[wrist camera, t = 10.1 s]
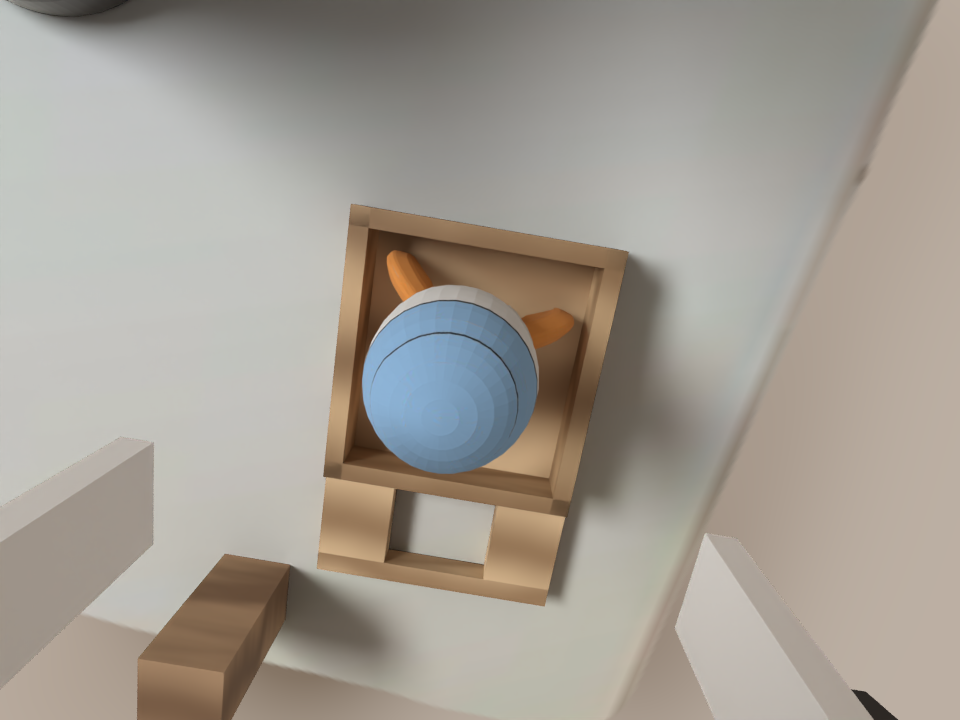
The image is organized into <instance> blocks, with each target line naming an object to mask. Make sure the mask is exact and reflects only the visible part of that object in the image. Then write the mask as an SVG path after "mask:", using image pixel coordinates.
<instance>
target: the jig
mask: <svg viewBox="0 0 960 720" xmlns="http://www.w3.org/2000/svg"><path fill="white" fill-rule="evenodd" d="M394 250H397V251H403V252H406V253H410V254H411V255H413V256H414V257H415V258H416V260H417V261H418V263H419V264H420V265H421V267H422V268H423V270H424V271H425V273H426V274H427V275H428V277H429V278H430V280H431V281H432V284H433V286H434V287H437V286H444V285H462V286H468V287H473V288H477V289H480V290H483V291H485V292H488V293H490V294H492V295H494V296H495V297H497V298H498V299H500V300H501V301H503V302H504V303H505V304H507V305H510V306H511V307H512V308H513V309H514V310H515V311H516V312H517V313H518V315H519V316H520V318H523V317H525V316H526V315H530V314H535V313H540V312H544V311H549V310H553V309H554V308H559V309H561V310H564V311H566V312H567V313H569V314H571V315H572V316H573V319H574V326H573V327H572V329H571V330H570V331H569V332H568V333H566V334H565V335H564V336H563V337H561V338H560V339H559V340H557V341H555V342H553V343H551V344H549V345H546V346H543V347H541V348H537V349H535V351H536V356H537V361H538V366H539V390H538V395H537V399H536V404H535V408H534V412H533V414H532V416H531V418H530V420H529V423H528V425H527V427H526V428H525V430H524V431H523V432H522V434H521V435H520V437H519V438H518V439H517V441H516V442H515V444H513V445H512V446H511V447H510V448H509V449H508V450H507V451H506V452H505V453H504V454H503V455H501V456H499V457H498V458H496V459H494V460H493V461H491V462H490V463H488V464H486V465H484V466H482V467H479V468H476V469H474V470H471V471H466V472H460V473H455V474H438V473H432V472H427V471H423V470H421V469H418V468H415V467H413V466H411V465H409V464H407V463H406V462H404V461H402V460H401V459H399V458H398V457H397V456H396V455H395V454H394V453H393V452H391V451H390V450H389V449H388V448H387V447H386V446H385V444H384V443H383V442H382V441H381V439H380V438H379V437H378V435H377V434H376V432H375V430H374V428H373V426H372V424H371V422H370V420H369V418H368V416H367V412H366V408H365V405H364V401H363V388H362V376H363V369H364V362H365V359H366V356H367V353H368V350H369V347H370V345H371V342H372V340H373V338H374V336H375V334H376V333H377V331H378V330H379V328H380V326H381V325H382V323H383V321H384V320H385V319H386V318H387V317H388V316H389V315H390V314H391V313H392V312H393V311H394V310H395V308H396V307H397V306H398V305H400V304H401V303H402V302H403V301H402V299H401V298H400V296H399V294H398V293H397V291H396V289H395V288H394V286H393V284H392V282H391V279H390V276H389V272H388V267H387V256H388V255H389V254H390V253H391V252H392V251H394ZM628 253H629V252H627V251H623V250H617V249H611V248H606V247H600V246H594V245H588V244H582V243H577V242H571V241H565V240H559V239H553V238H548V237H542V236H536V235H530V234H524V233H519V232H513V231H507V230H501V229H495V228H490V227H484V226H478V225H472V224H466V223H460V222H455V221H449V220H443V219H437V218H431V217H426V216H420V215H414V214H408V213H402V212H397V211H391V210H385V209H379V208H373V207H368V206H362V205H355V204H351V208H350V218H349V227H348V237H347V247H346V257H345V267H344V277H343V287H342V297H341V307H340V316H339V326H338V336H337V346H336V356H335V366H334V376H333V386H332V396H331V405H330V415H329V425H328V435H327V445H326V455H325V465H324V475H323V477H326V484H325V494H324V504H323V513H322V523H321V533H320V543H319V552H318V562H317V569H322V570H328V571H334V572H340V573H346V574H352V575H358V576H364V577H370V578H376V579H382V580H388V581H394V582H400V583H406V584H412V585H418V586H424V587H430V588H437V589H443V590H449V591H455V592H461V593H467V594H473V595H479V596H485V597H491V598H497V599H503V600H509V601H515V602H521V603H527V604H533V605H539V606H545V602H546V598H547V593H548V589H549V585H550V580H551V576H552V572H553V567H554V563H555V559H556V554H557V550H558V546H559V542H560V537H561V533H562V529H563V524H564V520H565V517H567V515H568V511H569V507H570V502H571V498H572V494H573V489H574V485H575V481H576V477H577V472H578V468H579V464H580V459H581V455H582V451H583V447H584V442H585V438H586V434H587V429H588V425H589V421H590V416H591V412H592V408H593V404H594V399H595V395H596V391H597V386H598V382H599V378H600V374H601V369H602V365H603V361H604V356H605V352H606V348H607V343H608V339H609V335H610V331H611V326H612V322H613V318H614V313H615V309H616V305H617V301H618V296H619V292H620V288H621V283H622V279H623V275H624V271H625V266H626V262H627V258H628ZM397 489H400V490H406V491H412V492H418V493H424V494H430V495H436V496H442V497H448V498H454V499H460V500H466V501H472V502H478V503H484V504H490V505H495V510H494V515H493V521H492V526H491V531H490V536H489V541H488V546H487V552H486V557H485V562H484V565H481V564H475V563H469V562H463V561H457V560H451V559H445V558H439V557H433V556H427V555H421V554H415V553H409V552H403V551H397V550H391V549H389V542H390V535H391V527H392V520H393V513H394V506H395V499H396V492H397Z"/></svg>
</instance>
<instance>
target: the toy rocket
mask: <svg viewBox="0 0 960 720" xmlns="http://www.w3.org/2000/svg"><path fill="white" fill-rule="evenodd" d="M387 267H388V272H389V276H390V279H391V282H392V284H393V286H394V288H395V289H396V291H397V293H398V294H399V296H400V298H401V299H402V301H403V302H402V303H401V304H400V305H398V306H397V307H396V308H395V310H394V311H393V312H392V313H391V314H390V315H389V316H388V317H387V318H386V319H385V320H384V321H383V323H382V325H381V326H380V328H379V330H378V331H377V333H376V334H375V336H374V338H373V340H372V342H371V345H370V347H369V350H368V353H367V356H366V359H365V362H364V369H363V376H362V388H363V401H364V405H365V408H366V412H367V416H368V418H369V420H370V422H371V424H372V426H373V428H374V430H375V432H376V434H377V435H378V437H379V438H380V439H381V441H382V442H383V443H384V444H385V446H386V447H387V448H388V449H389V450H390V451H391V452H393V453H394V454H395V455H396V456H397V457H398V458H399V459H401V460H402V461H404V462H406V463H407V464H409V465H411V466H413V467H415V468H418V469H421V470H423V471H427V472H432V473H438V474H455V473H460V472H466V471H471V470H474V469H476V468H479V467H482V466H484V465H486V464H488V463H490V462H491V461H493V460H494V459H496V458H498V457H499V456H501V455H503V454H504V453H505V452H506V451H507V450H508V449H509V448H510V447H511V446H512V445H513V444H515V442H516V441H517V439H518V438H519V437H520V435H521V434H522V432H523V431H524V430H525V428H526V427H527V425H528V423H529V420H530V418H531V416H532V414H533V412H534V408H535V404H536V399H537V395H538V390H539V366H538V361H537V356H536V351H535V349H537V348H541V347H543V346H546V345H549V344H551V343H553V342H555V341H557V340H559V339H560V338H561V337H563V336H564V335H565V334H566V333H568V332H569V331H570V330H571V329H572V327H573V326H574V319H573V316H572V315H571V314H569V313H567V312H566V311H564V310H561V309H559V308H554V309H553V310H549V311H544V312H540V313H535V314H530V315H526V316H525V317H523V318H520V316H519V315H518V313H517V312H516V311H515V310H514V309H513V308H512V307H511V306H510V305H507V304H505V303H504V302H503V301H501V300H500V299H498V298H497V297H495V296H494V295H492V294H490V293H488V292H485V291H483V290H480V289H477V288H473V287H468V286H462V285H444V286H437V287H434V286H433V284H432V281H431V280H430V278H429V277H428V275H427V274H426V273H425V271H424V270H423V268H422V267H421V265H420V264H419V263H418V261H417V260H416V258H415V257H414V256H413V255H411V254H410V253H406V252H403V251H397V250H394V251H392V252H391V253H390V254H389V255H388V256H387Z"/></svg>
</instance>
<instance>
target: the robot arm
mask: <svg viewBox="0 0 960 720" xmlns="http://www.w3.org/2000/svg"><path fill="white" fill-rule="evenodd" d="M7 1H9V2H12V3H14V4H16V5H18V6H21V7H24V8H26V9H30V10H33V11H36V12H40V13H45V14H51V15H58V16H81V15H88V14H93V13H98V12H102V11H105V10H108V9H111V8H113V7H115V6H118V5H120V4H122V3H123V2H125V1H127V0H7ZM153 468H154V442H149V441H143V440H137V439H131V438H125V437H120V438H118V439H116V440H115V441H113V442H111V443H109V444H108V445H106V446H104V447H103V448H101V449H99V450H97V451H96V452H94V453H92V454H91V455H89V456H87V457H85V458H84V459H82V460H80V461H78V462H77V463H75V464H73V465H72V466H70V467H68V468H66V469H65V470H63V471H61V472H60V473H58V474H56V475H54V476H53V477H51V478H49V479H48V480H46V481H44V482H42V483H41V484H39V485H37V486H36V487H34V488H32V489H30V490H29V491H27V492H25V493H24V494H22V495H20V496H18V497H17V498H15V499H13V500H11V501H10V502H8V503H6V504H5V505H3V506H1V507H0V689H1V688H2V687H3V686H4V685H5V684H6V683H7V682H9V681H10V680H11V679H12V678H13V677H14V676H15V675H16V674H17V673H18V672H19V671H20V670H21V669H22V668H23V667H24V666H25V665H26V664H27V663H28V662H30V661H31V660H32V659H33V658H34V657H35V656H36V655H37V654H38V653H39V652H40V651H41V650H42V649H43V648H44V647H45V646H46V645H47V644H48V643H50V642H51V641H52V640H53V639H54V638H55V637H56V636H57V635H58V634H59V633H60V632H61V631H62V630H63V629H64V628H65V627H66V626H67V625H69V624H70V623H71V622H72V621H73V620H74V619H75V618H76V617H77V616H78V615H79V614H80V613H81V612H82V611H83V610H84V609H85V608H86V607H87V606H89V605H90V604H91V603H92V602H93V601H94V600H95V599H96V598H97V597H98V596H99V595H100V594H101V593H102V592H103V591H104V590H105V589H106V588H107V587H109V586H110V585H111V584H112V583H113V582H114V581H115V580H116V579H117V578H118V577H119V576H120V575H121V574H122V573H123V572H124V571H125V570H126V569H127V568H129V567H130V566H131V565H132V564H133V563H134V562H135V561H136V560H137V559H138V558H139V557H140V556H141V555H142V554H143V553H144V552H145V551H146V550H147V549H149V548H150V547H151V546H152V545H153ZM675 630H676V632H677V634H678V637H679V639H680V641H681V643H682V646H683V648H684V650H685V653H686V655H687V657H688V659H689V662H690V664H691V666H692V668H693V671H694V673H695V675H696V678H697V680H698V682H699V685H700V687H701V689H702V691H703V694H704V696H705V698H706V701H707V703H708V705H709V707H710V710H711V712H712V714H713V717H714V719H715V720H898V719H897V718H895V717H894V716H893V715H892V714H891V713H889V712H888V711H887V710H886V709H885V708H884V707H883V706H882V705H880V704H879V703H878V702H877V701H876V700H875V699H874V698H872V697H871V696H870V695H869V694H868V693H867V692H864V691H858V690H852V689H850V688H849V686H848V685H847V683H846V682H845V681H844V680H843V678H842V677H841V676H840V674H839V673H838V672H837V670H836V669H835V668H834V666H833V665H832V664H831V662H830V661H829V660H828V658H827V657H826V656H825V654H824V653H823V652H822V650H821V649H820V648H819V646H818V645H817V644H816V642H815V641H814V640H813V638H812V637H811V636H810V634H809V633H808V632H807V630H806V629H805V628H804V626H803V625H802V624H801V623H800V621H799V620H798V619H797V617H796V616H795V615H794V613H793V612H792V611H791V609H790V608H789V607H788V605H787V604H786V603H785V601H784V600H783V599H782V597H781V596H780V595H779V593H778V592H777V591H776V589H775V588H774V587H773V585H772V584H771V583H770V581H769V580H768V579H767V577H766V576H765V575H764V573H763V572H762V571H761V570H760V568H759V567H758V566H757V564H756V563H755V562H754V560H753V559H752V558H751V556H750V555H749V554H748V552H747V551H746V550H745V548H744V547H743V546H742V544H741V543H740V542H739V540H738V539H737V538H733V537H727V536H721V535H715V534H708V533H705V535H704V538H703V541H702V544H701V547H700V551H699V554H698V557H697V560H696V563H695V566H694V570H693V573H692V576H691V579H690V582H689V585H688V589H687V592H686V595H685V598H684V601H683V604H682V607H681V610H680V614H679V617H678V620H677V623H676V626H675Z"/></svg>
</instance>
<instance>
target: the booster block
mask: <svg viewBox="0 0 960 720" xmlns="http://www.w3.org/2000/svg"><path fill="white" fill-rule="evenodd" d="M289 573H290V565H289V564H283V563H277V562H271V561H265V560H259V559H253V558H247V557H241V556H235V555H229V554H224V556H223V557H222V558H221V559H220V560H219V562H218V563H217V564H216V565H215V566H214V568H213V569H212V570H211V571H210V572H209V574H208V575H207V576H206V577H205V578H204V580H203V581H202V582H201V583H200V584H199V586H198V587H197V588H196V589H195V590H194V592H193V593H192V594H191V595H190V596H189V598H188V599H187V600H186V601H185V602H184V604H183V605H182V606H181V607H180V608H179V610H178V611H177V612H176V613H175V614H174V616H173V617H172V618H171V619H170V620H169V622H168V623H167V624H166V625H165V626H164V628H163V629H162V630H161V631H160V632H159V634H158V635H157V636H156V637H155V639H154V640H153V641H152V642H151V643H150V644H149V646H148V647H147V648H146V649H145V650H144V652H143V653H142V654H141V655H140V657H139V658H138V690H137V691H138V692H137V693H138V697H137V699H138V700H137V720H231V719H232V717H233V716H234V713H235V712H236V710H237V708H238V706H239V704H240V702H241V701H242V699H243V697H244V695H245V693H246V692H247V690H248V688H249V686H250V684H251V682H252V680H253V678H254V677H255V675H256V673H257V671H258V669H259V667H260V665H261V664H262V662H263V660H264V658H265V656H266V654H267V653H268V651H269V649H270V647H271V645H272V643H273V641H274V640H275V638H276V636H277V634H278V632H279V630H280V629H281V627H282V625H283V623H284V621H285V617H286V606H287V595H288V584H289Z"/></svg>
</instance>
